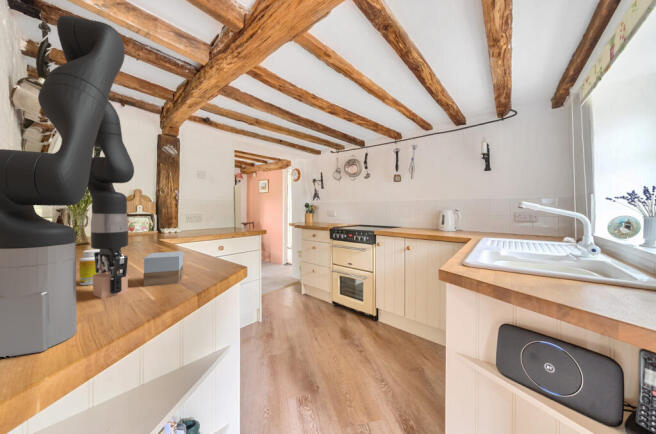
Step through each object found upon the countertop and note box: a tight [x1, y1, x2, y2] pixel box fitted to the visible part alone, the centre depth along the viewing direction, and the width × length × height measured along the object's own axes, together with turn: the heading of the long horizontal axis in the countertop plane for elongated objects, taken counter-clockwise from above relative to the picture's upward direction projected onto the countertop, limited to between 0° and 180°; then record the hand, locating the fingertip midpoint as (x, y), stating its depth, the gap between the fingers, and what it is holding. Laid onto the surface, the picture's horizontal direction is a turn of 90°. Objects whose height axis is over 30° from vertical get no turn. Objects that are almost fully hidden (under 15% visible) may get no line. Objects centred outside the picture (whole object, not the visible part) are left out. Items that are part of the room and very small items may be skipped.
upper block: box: [143, 250, 184, 274], centre depth 76 cm, size 9×9×4 cm
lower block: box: [143, 264, 184, 288], centre depth 76 cm, size 9×9×4 cm
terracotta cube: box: [92, 272, 129, 299], centre depth 64 cm, size 6×6×6 cm
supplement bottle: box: [78, 249, 103, 286], centre depth 72 cm, size 6×6×10 cm
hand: (110, 290), depth 64 cm, fingers closed on terracotta cube, 5 cm apart
